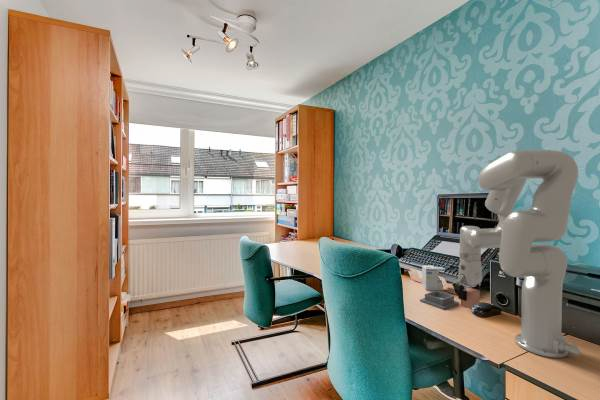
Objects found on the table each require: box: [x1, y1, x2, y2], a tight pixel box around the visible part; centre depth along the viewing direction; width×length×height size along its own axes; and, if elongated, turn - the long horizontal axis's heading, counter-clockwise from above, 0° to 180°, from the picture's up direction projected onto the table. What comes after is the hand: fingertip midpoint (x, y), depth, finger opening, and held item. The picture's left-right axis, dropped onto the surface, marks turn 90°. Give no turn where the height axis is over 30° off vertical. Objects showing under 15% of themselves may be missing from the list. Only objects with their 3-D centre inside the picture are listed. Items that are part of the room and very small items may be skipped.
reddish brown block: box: [460, 286, 481, 310], centre depth 122 cm, size 5×5×7 cm
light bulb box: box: [421, 264, 445, 291], centre depth 145 cm, size 11×7×11 cm, turn 84°
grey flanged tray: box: [419, 290, 460, 311], centre depth 127 cm, size 11×11×3 cm
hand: (469, 296), depth 123 cm, fingers open, 9 cm apart
